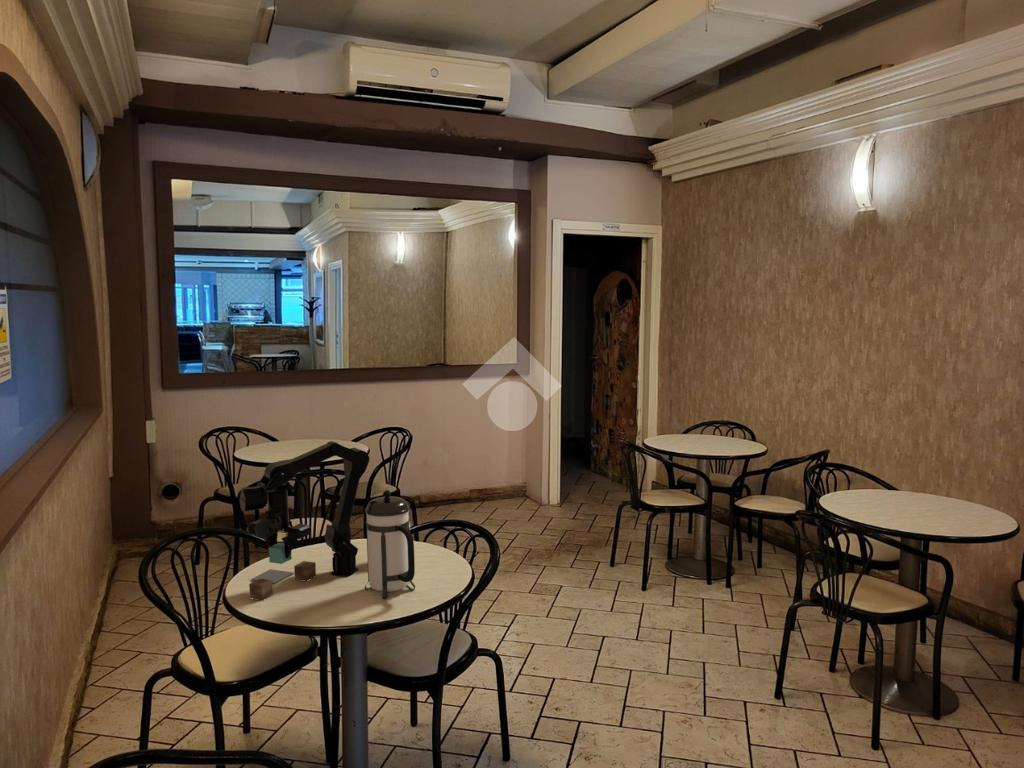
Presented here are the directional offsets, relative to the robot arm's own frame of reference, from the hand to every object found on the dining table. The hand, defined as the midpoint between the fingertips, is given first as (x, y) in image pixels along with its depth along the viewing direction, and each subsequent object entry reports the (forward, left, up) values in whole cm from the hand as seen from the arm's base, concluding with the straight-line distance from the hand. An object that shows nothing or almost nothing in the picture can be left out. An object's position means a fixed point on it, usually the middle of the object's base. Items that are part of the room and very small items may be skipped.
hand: (280, 557), depth 217 cm
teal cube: (0, 0, -1) cm, 1 cm away
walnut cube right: (-2, -9, -9) cm, 13 cm away
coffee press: (-33, -9, -10) cm, 35 cm away
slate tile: (+8, -6, -9) cm, 13 cm away
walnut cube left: (+1, +8, -9) cm, 12 cm away
